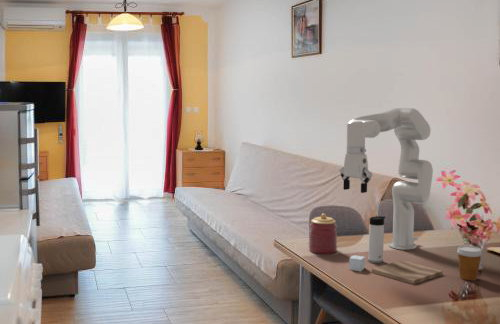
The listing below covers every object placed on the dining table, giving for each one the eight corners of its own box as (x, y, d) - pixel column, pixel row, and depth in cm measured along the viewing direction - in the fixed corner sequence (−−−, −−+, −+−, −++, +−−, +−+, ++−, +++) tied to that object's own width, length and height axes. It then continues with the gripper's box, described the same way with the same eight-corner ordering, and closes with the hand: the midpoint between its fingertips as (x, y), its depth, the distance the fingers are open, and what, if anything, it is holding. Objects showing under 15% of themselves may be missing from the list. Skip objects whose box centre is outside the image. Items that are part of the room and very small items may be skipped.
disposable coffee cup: (478, 283, 230) (479, 253, 228) (453, 279, 235) (454, 249, 233) (483, 277, 238) (484, 247, 236) (458, 273, 243) (460, 244, 241)
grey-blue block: (353, 266, 251) (353, 255, 251) (364, 268, 249) (365, 256, 248) (349, 269, 247) (349, 258, 247) (360, 271, 245) (361, 259, 244)
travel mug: (383, 263, 255) (385, 218, 253) (368, 262, 257) (369, 217, 254) (383, 259, 261) (385, 215, 259) (368, 259, 263) (369, 214, 260)
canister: (324, 256, 267) (324, 217, 265) (303, 250, 277) (303, 213, 275) (342, 251, 276) (343, 213, 274) (321, 245, 286) (322, 209, 284)
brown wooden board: (401, 263, 256) (401, 260, 256) (442, 274, 241) (442, 270, 240) (371, 272, 243) (372, 268, 243) (413, 284, 228) (413, 280, 228)
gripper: (377, 151, 244) (376, 192, 246) (346, 148, 258) (345, 187, 260) (365, 153, 240) (364, 194, 242) (334, 149, 253) (333, 189, 255)
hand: (355, 190), depth 251 cm, fingers open, 9 cm apart
